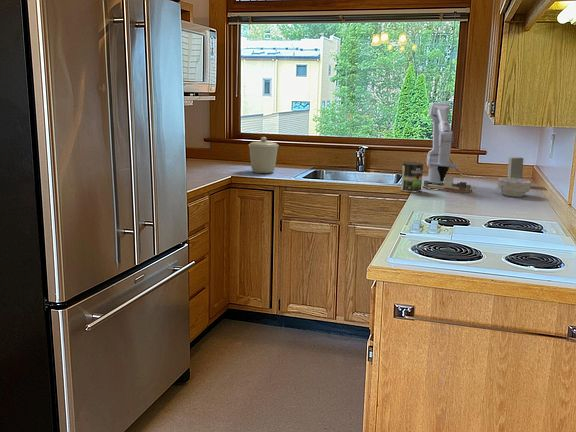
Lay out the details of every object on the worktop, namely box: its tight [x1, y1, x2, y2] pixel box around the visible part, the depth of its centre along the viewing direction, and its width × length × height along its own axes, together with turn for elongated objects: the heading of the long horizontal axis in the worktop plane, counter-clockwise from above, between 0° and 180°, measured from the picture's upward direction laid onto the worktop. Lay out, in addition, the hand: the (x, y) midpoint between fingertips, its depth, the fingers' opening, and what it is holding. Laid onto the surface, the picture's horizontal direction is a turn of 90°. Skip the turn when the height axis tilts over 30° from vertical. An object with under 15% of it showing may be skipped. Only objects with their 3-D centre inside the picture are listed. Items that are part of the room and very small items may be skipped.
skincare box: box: [507, 156, 524, 179], centre depth 304 cm, size 8×7×16 cm
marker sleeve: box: [443, 175, 454, 188], centre depth 286 cm, size 4×4×6 cm
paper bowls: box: [497, 177, 532, 198], centre depth 276 cm, size 15×15×8 cm
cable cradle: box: [421, 179, 473, 194], centre depth 287 cm, size 10×24×5 cm, turn 62°
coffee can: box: [400, 161, 424, 193], centre depth 280 cm, size 10×10×14 cm
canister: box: [247, 136, 280, 174], centre depth 325 cm, size 18×18×21 cm
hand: (442, 181), depth 288 cm, fingers closed
